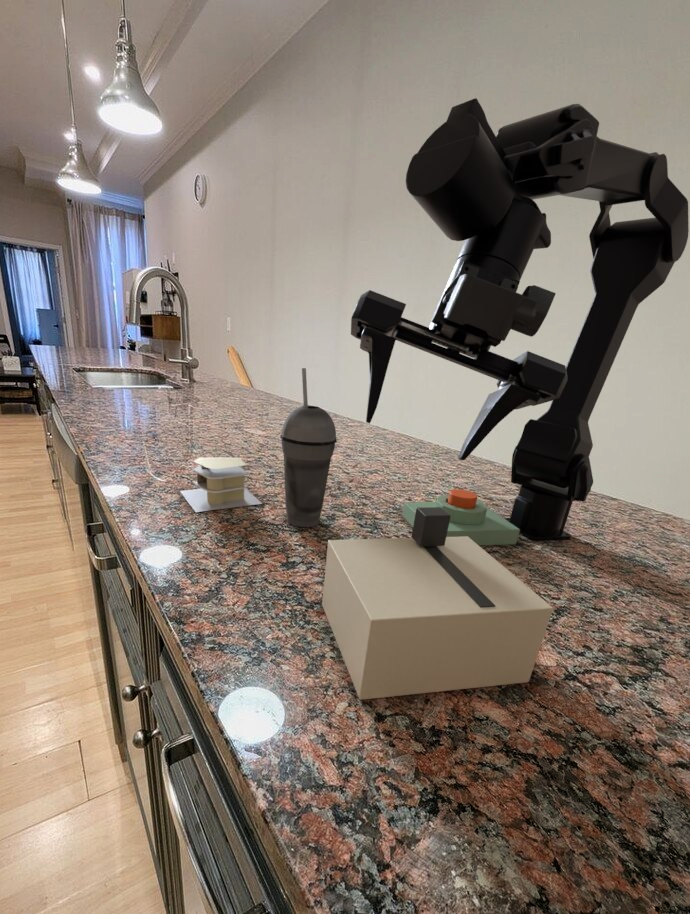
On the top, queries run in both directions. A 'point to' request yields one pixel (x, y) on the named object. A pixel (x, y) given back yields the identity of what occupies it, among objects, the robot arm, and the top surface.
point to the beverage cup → (306, 460)
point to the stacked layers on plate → (219, 485)
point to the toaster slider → (430, 526)
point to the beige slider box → (429, 616)
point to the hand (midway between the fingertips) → (414, 441)
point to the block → (470, 522)
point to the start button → (462, 499)
